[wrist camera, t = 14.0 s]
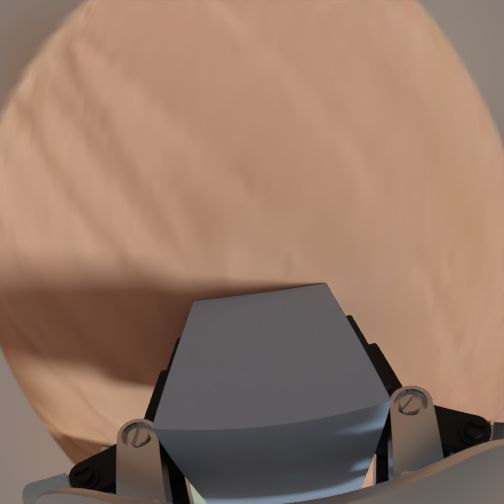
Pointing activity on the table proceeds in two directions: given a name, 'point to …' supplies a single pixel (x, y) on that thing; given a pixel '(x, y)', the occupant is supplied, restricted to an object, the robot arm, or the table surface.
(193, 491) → the base brick
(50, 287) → the table surface
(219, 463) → the slate block
